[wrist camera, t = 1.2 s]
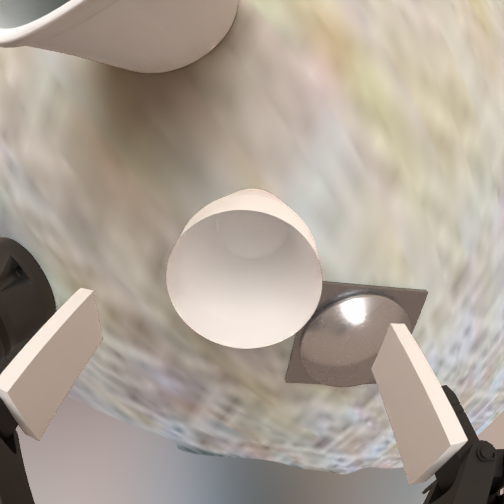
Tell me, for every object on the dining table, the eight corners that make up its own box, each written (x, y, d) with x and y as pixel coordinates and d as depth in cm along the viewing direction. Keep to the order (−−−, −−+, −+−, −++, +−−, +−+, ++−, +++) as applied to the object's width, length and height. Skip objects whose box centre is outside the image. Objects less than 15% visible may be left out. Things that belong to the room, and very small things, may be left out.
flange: (285, 378, 35) (285, 388, 33) (307, 279, 29) (309, 287, 28) (386, 380, 34) (389, 388, 33) (425, 289, 29) (431, 296, 28)
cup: (321, 217, 27) (358, 275, 16) (260, 285, 30) (256, 371, 19) (243, 154, 25) (224, 169, 14) (185, 231, 28) (137, 295, 17)
